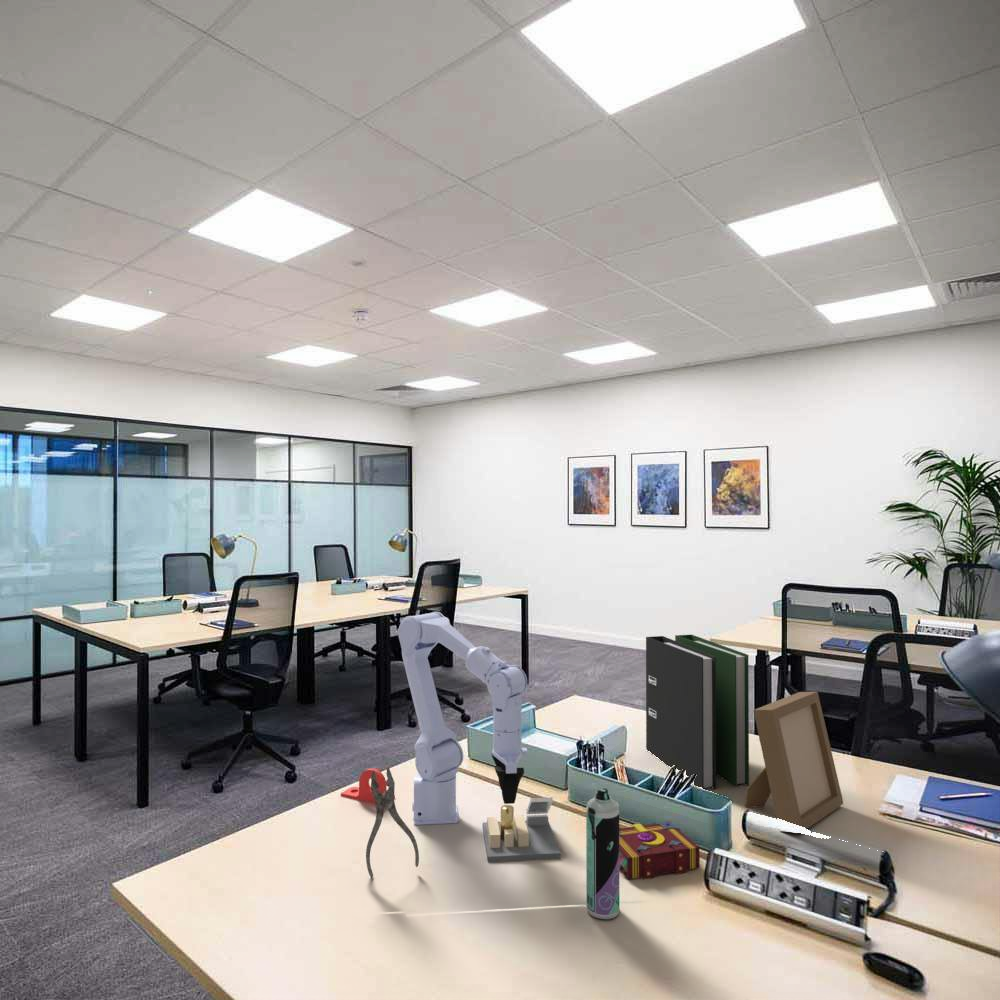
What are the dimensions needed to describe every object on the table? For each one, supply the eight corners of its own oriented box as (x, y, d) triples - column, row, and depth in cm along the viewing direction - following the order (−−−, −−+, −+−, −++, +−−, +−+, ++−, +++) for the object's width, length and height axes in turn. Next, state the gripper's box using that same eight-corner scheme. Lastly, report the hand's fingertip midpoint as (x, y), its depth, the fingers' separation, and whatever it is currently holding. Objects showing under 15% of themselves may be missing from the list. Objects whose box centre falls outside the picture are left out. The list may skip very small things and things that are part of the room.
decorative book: (701, 871, 125) (701, 844, 125) (622, 884, 121) (622, 856, 121) (670, 842, 136) (669, 817, 136) (596, 853, 132) (596, 827, 132)
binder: (751, 787, 162) (751, 654, 163) (697, 793, 159) (696, 658, 159) (692, 748, 189) (691, 634, 189) (644, 753, 185) (643, 637, 185)
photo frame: (843, 807, 151) (842, 696, 151) (799, 839, 137) (798, 716, 137) (779, 787, 162) (779, 683, 163) (732, 814, 148) (732, 700, 148)
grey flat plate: (531, 802, 135) (530, 797, 136) (526, 814, 141) (526, 809, 142) (552, 801, 136) (552, 796, 136) (547, 814, 142) (546, 809, 143)
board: (487, 861, 128) (487, 843, 128) (482, 827, 142) (482, 810, 142) (560, 858, 129) (560, 839, 129) (547, 824, 143) (547, 807, 143)
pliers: (417, 874, 124) (424, 765, 125) (418, 876, 123) (424, 767, 124) (364, 876, 122) (371, 766, 123) (364, 879, 122) (371, 767, 122)
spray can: (611, 923, 109) (611, 799, 109) (581, 912, 112) (581, 791, 112) (624, 906, 113) (624, 787, 114) (594, 896, 116) (594, 780, 117)
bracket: (394, 800, 155) (395, 765, 155) (383, 807, 151) (383, 772, 151) (352, 790, 160) (353, 757, 160) (340, 798, 156) (340, 764, 156)
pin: (501, 841, 134) (501, 810, 134) (499, 834, 136) (500, 805, 136) (514, 840, 134) (514, 810, 134) (512, 834, 137) (512, 804, 137)
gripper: (532, 739, 129) (532, 810, 128) (522, 716, 143) (522, 780, 143) (495, 740, 128) (495, 812, 128) (489, 717, 142) (489, 781, 142)
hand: (507, 795), depth 135 cm, fingers open, 6 cm apart
